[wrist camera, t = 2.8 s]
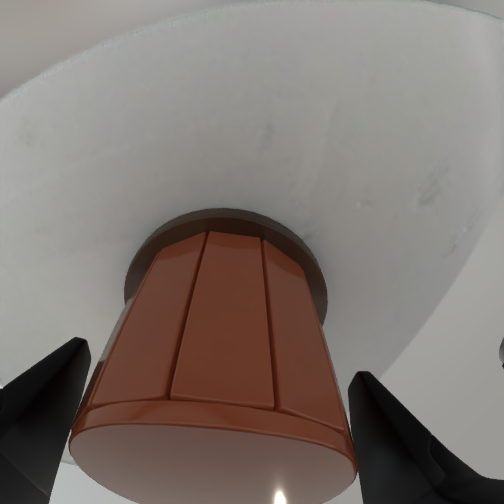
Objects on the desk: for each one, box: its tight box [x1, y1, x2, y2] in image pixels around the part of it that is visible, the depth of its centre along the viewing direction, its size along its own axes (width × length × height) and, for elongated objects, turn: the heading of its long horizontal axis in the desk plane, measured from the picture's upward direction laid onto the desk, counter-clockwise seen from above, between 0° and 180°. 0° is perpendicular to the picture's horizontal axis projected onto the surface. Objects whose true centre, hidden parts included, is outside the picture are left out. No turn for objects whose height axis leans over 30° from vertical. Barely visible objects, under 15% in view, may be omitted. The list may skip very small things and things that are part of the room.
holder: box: [124, 208, 328, 326], centre depth 10 cm, size 8×8×6 cm
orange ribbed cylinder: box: [69, 231, 358, 504], centre depth 9 cm, size 7×7×7 cm
